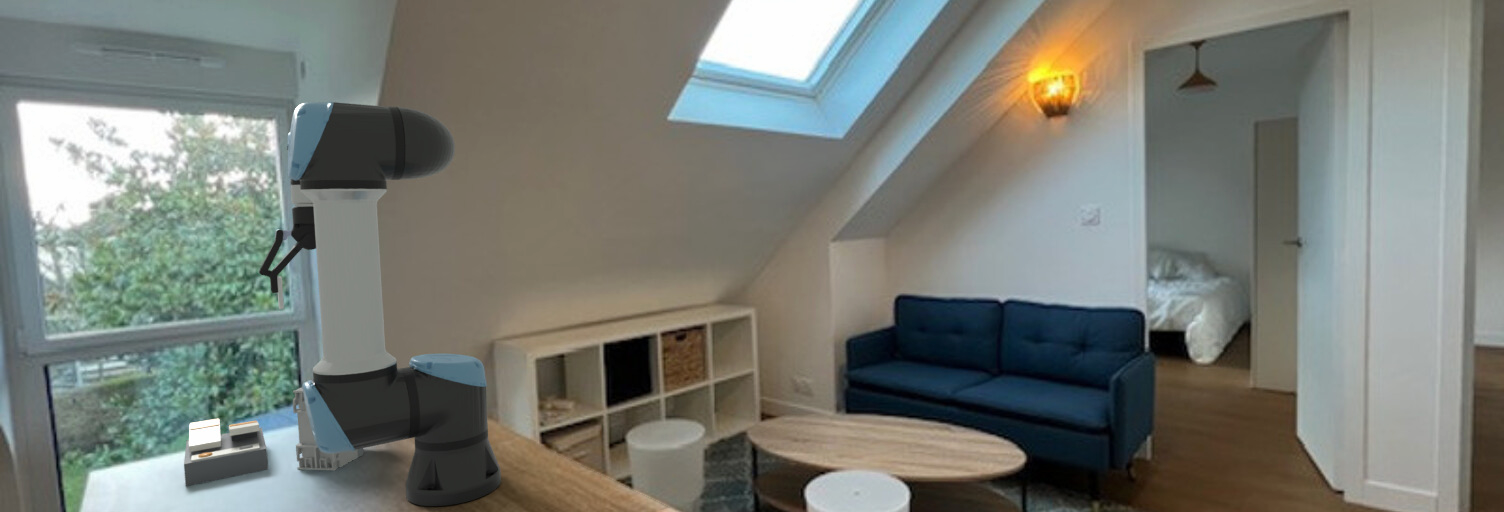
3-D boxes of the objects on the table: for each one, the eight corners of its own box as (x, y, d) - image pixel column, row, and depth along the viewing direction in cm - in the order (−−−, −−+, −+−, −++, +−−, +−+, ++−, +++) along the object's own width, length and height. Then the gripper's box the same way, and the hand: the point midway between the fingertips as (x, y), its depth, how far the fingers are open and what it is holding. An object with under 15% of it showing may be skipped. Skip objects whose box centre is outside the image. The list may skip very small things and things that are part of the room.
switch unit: (267, 469, 131) (266, 443, 130) (185, 486, 124) (183, 459, 123) (263, 446, 143) (261, 423, 143) (188, 460, 136) (186, 435, 136)
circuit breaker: (382, 443, 144) (378, 372, 143) (334, 470, 130) (329, 391, 129) (348, 443, 145) (344, 372, 144) (297, 469, 131) (292, 390, 129)
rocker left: (221, 446, 130) (220, 439, 130) (189, 452, 128) (188, 445, 127) (219, 424, 138) (219, 418, 138) (190, 429, 135) (189, 423, 135)
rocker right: (259, 430, 134) (258, 423, 134) (229, 436, 131) (229, 428, 131) (257, 426, 142) (257, 420, 142) (229, 431, 139) (228, 425, 139)
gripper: (375, 204, 158) (381, 297, 160) (239, 206, 143) (247, 309, 145) (382, 204, 152) (387, 300, 154) (240, 206, 137) (248, 313, 139)
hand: (319, 305), depth 149 cm, fingers open, 13 cm apart
